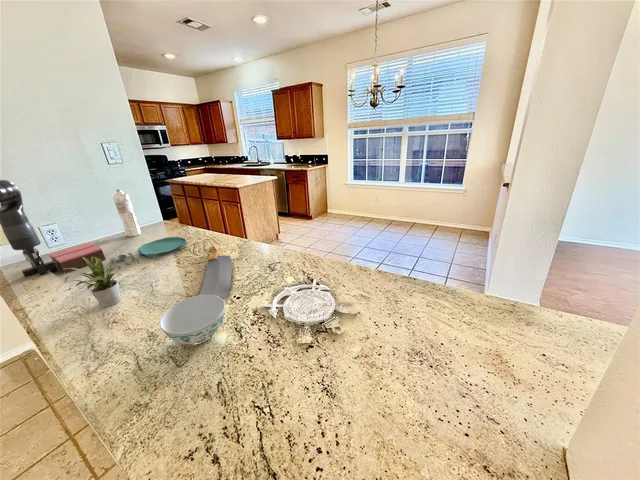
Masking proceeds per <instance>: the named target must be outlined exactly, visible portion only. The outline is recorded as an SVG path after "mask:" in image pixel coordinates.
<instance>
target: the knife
mask: <svg viewBox="0 0 640 480" xmlns="http://www.w3.org/2000/svg"><path fill="white" fill-rule="evenodd" d="M44 264H45V266H44V267H45V269H46V271H47V272H48V271H49V272H51V273H56V272H59V271H61V270H60V268H59V266H58V264H57V262H56V261H55V262H53V261H52V260H51V261H48V262H44ZM21 273H22V274H23V276H24V277H25V278H28V277H31V276H34V275H39V273H38V271H37V269H36V268H35V267H32V266H31V267H29V268H25V269H22V270H21Z"/></svg>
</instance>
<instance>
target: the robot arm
mask: <svg viewBox="0 0 640 480" xmlns="http://www.w3.org/2000/svg"><path fill="white" fill-rule="evenodd" d="M0 227H1V229H2V231H3V234H4V236H5V238H6V239H7V241H8V243H9V245H10V247H11V248H12V250H14V251H21V254H22V255H23V257H24V258H25V260H26V261H27V262H28V263H29V264H30V265H31V268H32V267H35V268H36V269H37V271H38V275H39V276H45V275H47V274H48V270H47V271H46V269H45V267H44V266H45V262H44V260H43V257H42V255H41V253H40V250H39V249H37V248H35V247H38V246H39V245H41V243H42V242H41V240H40V238H39V236H38V234H37V232H36V230H35V228H34V226H33V224H32V223H31V222H30V220H29V218H28V216H27V214H26V213H25V210H24V202H23V196H22V192H21V190H20V188H19V187H18V186H17V185H16V184H15V183H14V182H13V181H10V180H7V179H0Z"/></svg>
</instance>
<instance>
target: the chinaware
mask: <svg viewBox="0 0 640 480" xmlns="http://www.w3.org/2000/svg"><path fill="white" fill-rule="evenodd" d="M198 295H199V294H198ZM198 295H195V296H190V297H188V298H185V299H182V300H180V301H179V302H177V303H175V304H174V305H172V306H171V307H169V308H168V309H167V310H165V312H164V313H163V314H162V316H161V318H160V319H159V327H160V330H162V332H163V333H164V334H165V336H167V338H169V339H171V340H172V341H174V342H176V343H179V344H182V345H190V344H195V343H200V342H203V341H205V340H206V339H208V338H209V337H211V336H212V335H213V336H214V334H216V332H218V330H219V329H220V328H221V326H222V323H223V321H224V318H225V315H226V314H225V313H226V303H225V300H223V299H224V298H223V299H221V298H220V297H218V296H215V295H199V296H198ZM213 336H212V337H213Z"/></svg>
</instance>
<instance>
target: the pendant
mask: <svg viewBox="0 0 640 480" xmlns="http://www.w3.org/2000/svg"><path fill="white" fill-rule="evenodd" d="M304 287H312V289H303V290H300V291H298V292H297V291H296V290H298V289H300V288H304ZM315 288H319V289H315ZM324 289H325V290H331V288H329V286H327V285H324V284H322V283H320V284H319V285H318V284H317V279H316V278H314V279H313V281H312V284H299V285H295V286H291V287H285V286H283V290H282V291H281V292H279V293H278V294H277V295H276V296H275V297H274V299H273V300H272V303H260V304H259V306H262V307H271V308H270V309H267V311H268V314H269V313H270V314H271V315H272V316H273V317H274V318H276V319H277V317H276V315H277V316H278V314H277V312H278V310H279V311H280V308H276V307H283V308H282V312H284V313H283V319H284V318H285V319H287V320H291V321H293V322H296V323H306V324H309V323H310V324H311V323H317V322H321V321H323V320H324V321H325V319H326V320H327V319H328V318H329V316H330V315H331V314H332V313H333V312H334V309H335V305H336V301H335V299H334V297H333V296H332V293H331V292H329V291H320V290H324ZM285 295H291V296H289V297H286V299H285V300H284V302H283V304H279V303H278V304H277V302H278V301H279V300H280V299H281V298H282V297H283V296H285ZM331 303H332V305H331ZM326 305H327V306H326ZM336 308H340V309H341V308H349V307H342V306H340V307H336ZM278 313H279V312H278ZM334 313H335V312H334ZM270 314H269V315H270ZM323 314H324V315H323ZM319 316H320V317H319ZM332 317H333V318H335V316H332ZM332 317H331V318H332ZM307 318H308V319H307ZM333 318H332V319H333ZM336 318H338V319H339V320H340V318H339V317H338V316H336ZM285 319H284V320H285ZM332 319H330V320H332ZM338 319H336V320H338ZM330 320H328V321H330ZM336 320H334V321H336ZM328 321H327V322H328ZM334 321H333V322H334ZM327 322H325V323H327ZM333 322H331V323H333ZM325 323H322V324H321V326H322V325H323V324H325ZM331 323H329V324H331ZM329 324H328V325H329ZM328 325H326V326H328ZM304 328H306V329H307V328H309V327H307V326H306V327H304ZM300 331H301V330H300V329H299V332H300ZM305 333H306V330H305Z"/></svg>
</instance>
